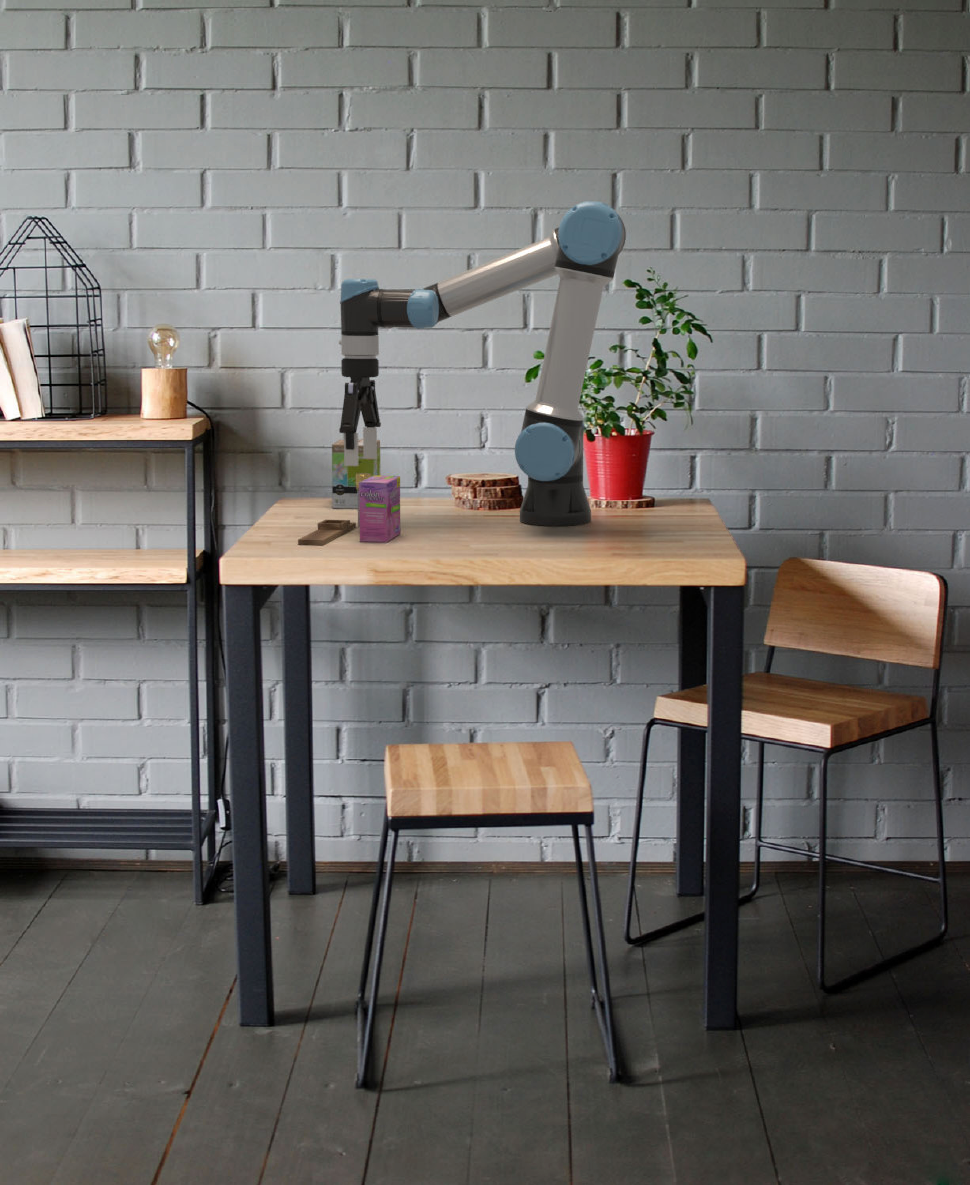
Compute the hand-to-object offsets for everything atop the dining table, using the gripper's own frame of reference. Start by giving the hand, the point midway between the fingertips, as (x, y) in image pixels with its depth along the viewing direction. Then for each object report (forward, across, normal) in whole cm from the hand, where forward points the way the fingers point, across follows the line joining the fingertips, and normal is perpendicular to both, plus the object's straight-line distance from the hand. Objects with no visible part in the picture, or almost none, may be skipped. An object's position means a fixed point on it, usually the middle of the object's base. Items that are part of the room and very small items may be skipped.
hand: (361, 462), depth 272 cm
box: (+14, +13, +8) cm, 20 cm away
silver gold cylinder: (+13, 0, +1) cm, 13 cm away
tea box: (+14, -32, -10) cm, 36 cm away
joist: (+14, +12, -3) cm, 18 cm away
